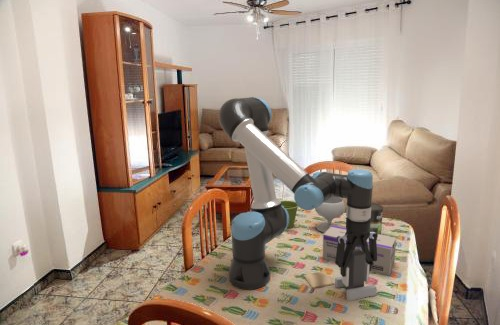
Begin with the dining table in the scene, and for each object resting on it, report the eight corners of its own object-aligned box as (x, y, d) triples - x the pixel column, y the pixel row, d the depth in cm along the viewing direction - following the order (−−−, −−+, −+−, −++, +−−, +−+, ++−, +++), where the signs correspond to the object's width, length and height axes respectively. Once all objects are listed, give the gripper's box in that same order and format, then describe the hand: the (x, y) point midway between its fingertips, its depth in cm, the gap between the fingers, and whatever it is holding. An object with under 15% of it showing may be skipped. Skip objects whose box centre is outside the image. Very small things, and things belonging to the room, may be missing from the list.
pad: (312, 288, 114) (312, 287, 114) (303, 276, 121) (303, 274, 121) (334, 284, 116) (334, 283, 116) (323, 272, 123) (323, 271, 123)
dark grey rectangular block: (352, 294, 110) (354, 256, 107) (346, 288, 114) (347, 250, 111) (363, 292, 111) (365, 254, 108) (356, 286, 115) (358, 248, 112)
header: (348, 300, 107) (349, 292, 106) (334, 285, 115) (335, 277, 115) (376, 295, 109) (376, 287, 109) (360, 280, 118) (360, 272, 117)
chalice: (332, 221, 170) (333, 193, 167) (350, 231, 158) (351, 201, 155) (309, 225, 166) (309, 197, 162) (325, 237, 153) (325, 206, 150)
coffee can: (384, 233, 155) (386, 205, 152) (377, 242, 147) (379, 211, 144) (362, 228, 161) (363, 200, 158) (354, 236, 153) (355, 207, 150)
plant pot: (300, 230, 161) (300, 208, 158) (275, 230, 161) (275, 208, 159) (297, 220, 172) (297, 200, 170) (274, 221, 173) (274, 200, 170)
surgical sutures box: (394, 263, 129) (396, 237, 127) (389, 276, 120) (390, 249, 118) (331, 248, 142) (332, 225, 140) (322, 259, 134) (323, 234, 131)
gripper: (336, 226, 101) (334, 293, 106) (392, 218, 106) (387, 283, 111) (324, 217, 108) (323, 281, 113) (377, 210, 113) (374, 271, 118)
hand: (355, 282), depth 112 cm, fingers open, 7 cm apart
